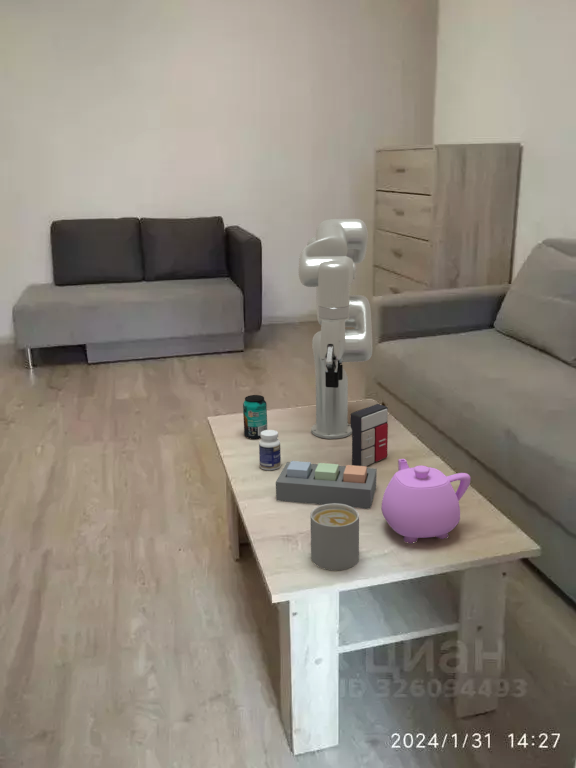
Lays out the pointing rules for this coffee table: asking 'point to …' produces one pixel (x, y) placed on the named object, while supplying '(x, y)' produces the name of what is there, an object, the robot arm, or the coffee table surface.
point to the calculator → (369, 435)
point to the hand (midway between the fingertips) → (334, 382)
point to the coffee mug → (335, 536)
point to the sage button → (327, 472)
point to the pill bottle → (269, 450)
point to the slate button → (299, 469)
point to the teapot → (422, 502)
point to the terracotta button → (355, 474)
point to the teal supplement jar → (254, 416)
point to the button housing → (326, 489)
